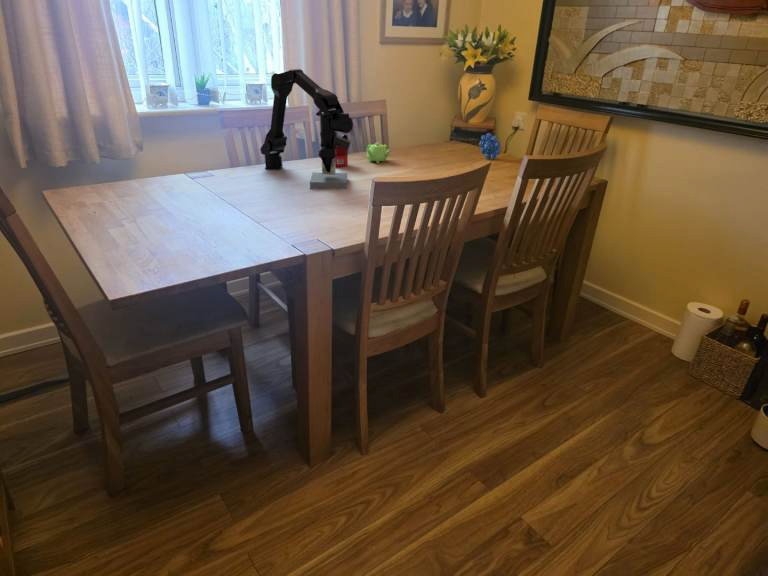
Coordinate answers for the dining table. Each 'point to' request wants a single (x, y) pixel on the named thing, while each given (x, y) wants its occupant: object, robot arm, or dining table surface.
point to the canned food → (341, 157)
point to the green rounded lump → (377, 152)
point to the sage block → (332, 170)
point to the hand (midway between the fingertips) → (328, 170)
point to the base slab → (328, 181)
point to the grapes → (489, 146)
